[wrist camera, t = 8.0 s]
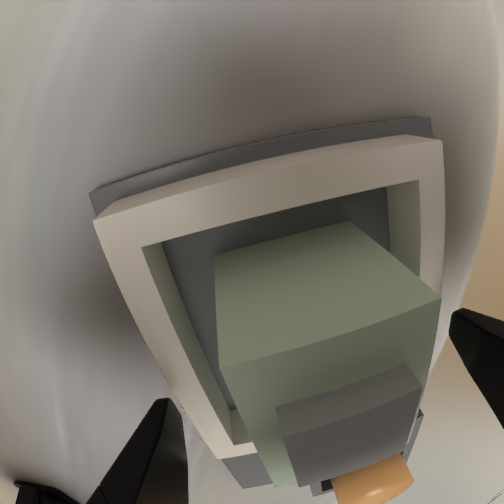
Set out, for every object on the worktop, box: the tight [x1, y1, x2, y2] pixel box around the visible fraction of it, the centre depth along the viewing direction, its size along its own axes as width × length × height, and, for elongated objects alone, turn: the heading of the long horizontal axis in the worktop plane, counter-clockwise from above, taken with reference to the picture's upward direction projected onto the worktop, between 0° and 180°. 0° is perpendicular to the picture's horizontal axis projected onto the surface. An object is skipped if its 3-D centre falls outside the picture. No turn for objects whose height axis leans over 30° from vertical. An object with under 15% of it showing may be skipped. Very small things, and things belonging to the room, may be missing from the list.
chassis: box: [89, 117, 445, 497], centre depth 12 cm, size 20×12×3 cm, turn 13°
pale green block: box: [214, 221, 441, 487], centre depth 8 cm, size 6×4×6 cm
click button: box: [330, 453, 414, 504], centre depth 12 cm, size 4×4×3 cm
